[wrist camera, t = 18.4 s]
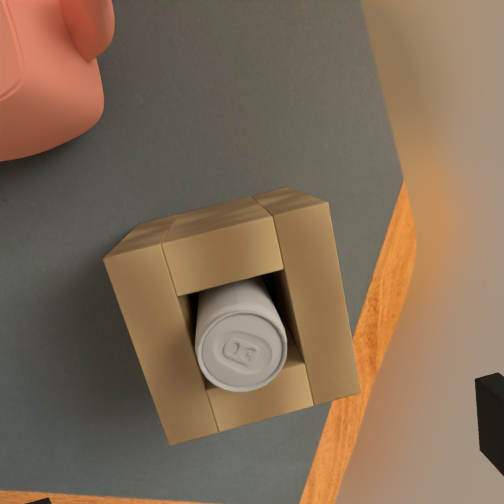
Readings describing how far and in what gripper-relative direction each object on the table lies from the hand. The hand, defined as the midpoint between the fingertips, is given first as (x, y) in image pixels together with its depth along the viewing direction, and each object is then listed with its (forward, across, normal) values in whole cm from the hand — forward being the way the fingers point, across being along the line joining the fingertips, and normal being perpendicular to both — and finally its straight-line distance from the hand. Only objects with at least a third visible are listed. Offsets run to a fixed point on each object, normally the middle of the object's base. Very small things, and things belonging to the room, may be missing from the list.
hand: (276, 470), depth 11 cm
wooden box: (+20, 0, 0) cm, 20 cm away
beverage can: (+20, 0, 0) cm, 20 cm away
